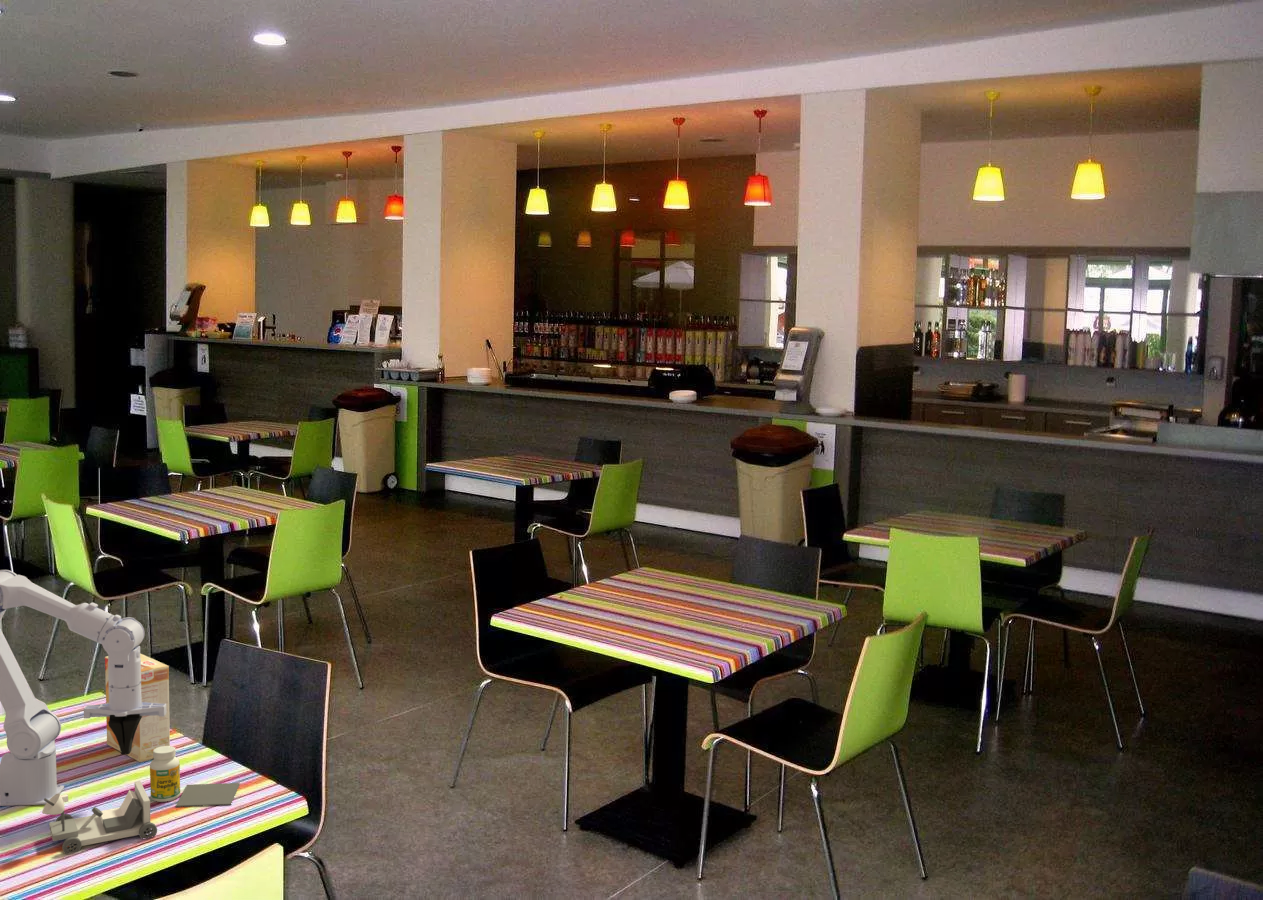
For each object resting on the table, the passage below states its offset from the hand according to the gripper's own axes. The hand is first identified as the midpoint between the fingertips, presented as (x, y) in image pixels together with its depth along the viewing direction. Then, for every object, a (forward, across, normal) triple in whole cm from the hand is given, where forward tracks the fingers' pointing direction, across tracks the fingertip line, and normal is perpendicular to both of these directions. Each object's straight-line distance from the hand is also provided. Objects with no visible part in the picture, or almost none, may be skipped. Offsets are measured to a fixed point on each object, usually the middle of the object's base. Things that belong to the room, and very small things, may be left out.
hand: (126, 752), depth 226 cm
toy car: (+10, -1, -16) cm, 18 cm away
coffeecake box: (+9, -4, +26) cm, 28 cm away
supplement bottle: (+9, +7, 0) cm, 12 cm away
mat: (+9, +15, 0) cm, 18 cm away
